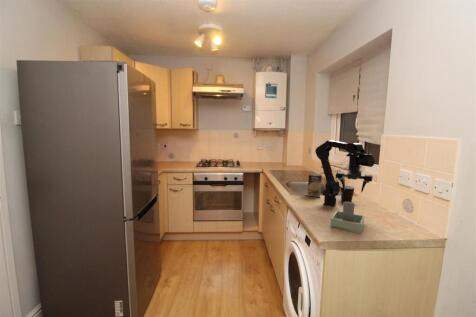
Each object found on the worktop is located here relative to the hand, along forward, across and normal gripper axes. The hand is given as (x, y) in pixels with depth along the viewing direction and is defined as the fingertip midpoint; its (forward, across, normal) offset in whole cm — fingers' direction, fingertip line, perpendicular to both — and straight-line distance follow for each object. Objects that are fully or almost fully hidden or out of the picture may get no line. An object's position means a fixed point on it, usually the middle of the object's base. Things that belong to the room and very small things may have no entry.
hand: (352, 191), depth 135 cm
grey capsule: (+12, +1, -22) cm, 25 cm away
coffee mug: (+13, -6, +24) cm, 28 cm away
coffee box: (+12, -28, +22) cm, 38 cm away
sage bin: (+13, +1, -22) cm, 25 cm away
